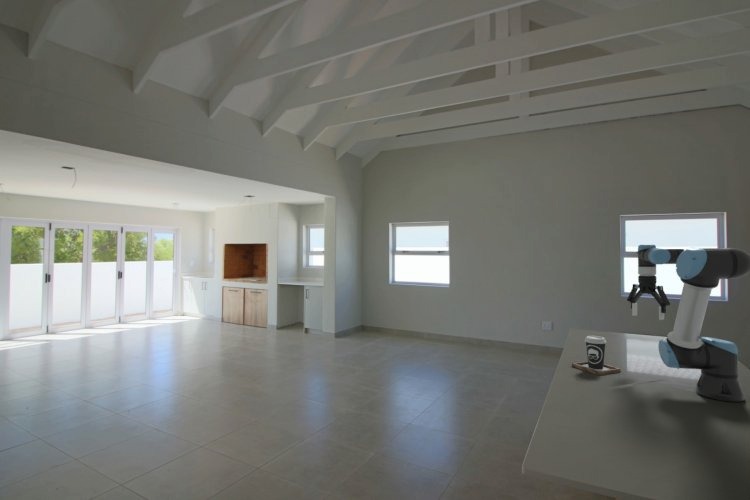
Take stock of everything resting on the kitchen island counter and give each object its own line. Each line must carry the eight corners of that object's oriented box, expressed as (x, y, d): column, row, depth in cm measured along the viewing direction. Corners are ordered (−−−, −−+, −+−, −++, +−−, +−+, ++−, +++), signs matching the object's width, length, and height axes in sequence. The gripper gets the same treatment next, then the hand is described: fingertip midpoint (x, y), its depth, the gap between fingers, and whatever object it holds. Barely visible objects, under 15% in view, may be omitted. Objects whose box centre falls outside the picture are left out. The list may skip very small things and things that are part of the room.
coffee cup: (610, 370, 193) (610, 339, 193) (590, 370, 194) (590, 339, 194) (600, 364, 203) (599, 335, 203) (581, 364, 203) (581, 335, 203)
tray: (620, 374, 193) (620, 368, 193) (599, 377, 188) (599, 371, 188) (592, 365, 208) (592, 360, 208) (572, 368, 203) (571, 363, 203)
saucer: (617, 371, 194) (617, 369, 194) (597, 374, 190) (597, 372, 190) (594, 364, 207) (594, 362, 207) (575, 367, 202) (575, 365, 202)
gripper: (678, 276, 188) (679, 321, 188) (629, 273, 212) (629, 313, 211) (667, 276, 186) (668, 322, 185) (618, 274, 209) (619, 314, 209)
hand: (647, 317), depth 198 cm, fingers open, 13 cm apart
